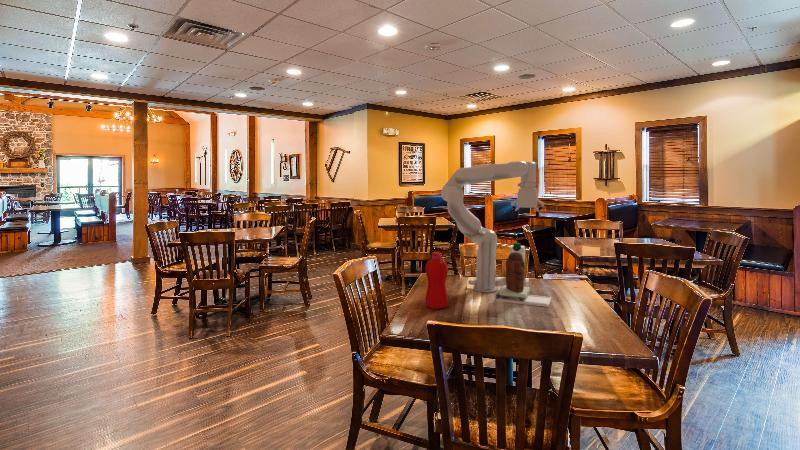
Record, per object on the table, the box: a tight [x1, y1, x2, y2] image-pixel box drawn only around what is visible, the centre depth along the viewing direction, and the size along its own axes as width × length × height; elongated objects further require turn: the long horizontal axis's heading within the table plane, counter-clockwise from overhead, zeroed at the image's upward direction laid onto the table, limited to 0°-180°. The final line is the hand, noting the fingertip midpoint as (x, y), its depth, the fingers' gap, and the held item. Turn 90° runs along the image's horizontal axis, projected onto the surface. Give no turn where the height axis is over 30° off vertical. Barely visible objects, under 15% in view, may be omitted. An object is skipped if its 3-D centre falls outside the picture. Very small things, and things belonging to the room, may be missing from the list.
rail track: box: [494, 287, 552, 308], centre depth 212 cm, size 24×13×3 cm, turn 66°
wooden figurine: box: [505, 252, 525, 292], centre depth 212 cm, size 12×6×18 cm, turn 18°
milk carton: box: [508, 242, 526, 270], centre depth 258 cm, size 9×9×20 cm
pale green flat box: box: [499, 284, 531, 300], centre depth 213 cm, size 12×14×3 cm
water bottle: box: [424, 251, 449, 310], centre depth 201 cm, size 9×11×25 cm
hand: (527, 218), depth 232 cm, fingers open, 9 cm apart
